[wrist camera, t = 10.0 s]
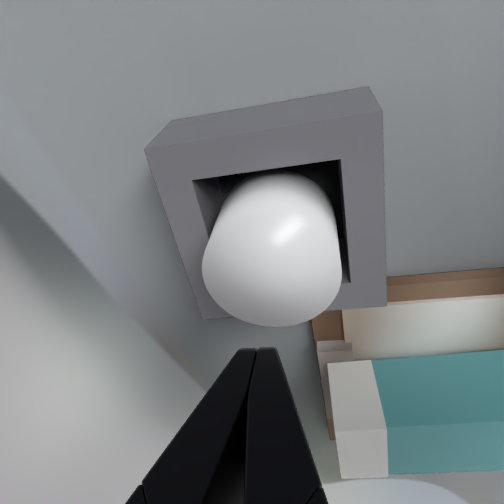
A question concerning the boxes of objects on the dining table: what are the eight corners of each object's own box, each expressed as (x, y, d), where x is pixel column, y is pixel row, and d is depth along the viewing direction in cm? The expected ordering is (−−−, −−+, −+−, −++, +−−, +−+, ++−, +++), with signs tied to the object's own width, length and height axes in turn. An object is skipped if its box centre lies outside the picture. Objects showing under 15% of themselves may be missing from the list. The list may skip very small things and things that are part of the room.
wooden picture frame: (706, 250, 15) (736, 271, 14) (622, 426, 21) (639, 450, 20) (307, 284, 18) (307, 302, 17) (329, 430, 24) (330, 451, 23)
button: (330, 161, 13) (335, 205, 10) (340, 265, 15) (346, 323, 12) (207, 178, 14) (185, 223, 11) (233, 275, 16) (219, 331, 13)
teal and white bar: (615, 339, 17) (683, 413, 14) (594, 393, 19) (650, 467, 16) (327, 363, 19) (334, 431, 16) (333, 409, 21) (341, 479, 18)
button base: (368, 86, 14) (382, 110, 11) (375, 259, 17) (386, 306, 15) (170, 120, 15) (143, 149, 12) (216, 273, 19) (202, 319, 16)
